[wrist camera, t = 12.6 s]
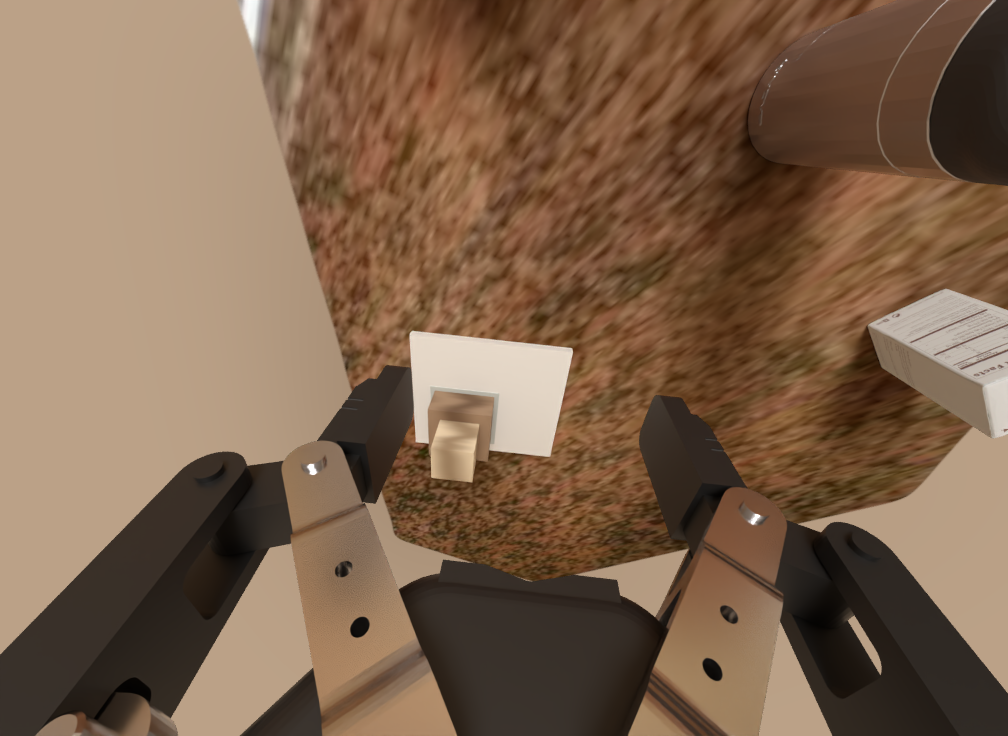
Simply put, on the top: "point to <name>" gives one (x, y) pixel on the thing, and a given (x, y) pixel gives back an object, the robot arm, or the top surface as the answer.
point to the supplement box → (951, 355)
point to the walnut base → (462, 416)
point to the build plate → (494, 385)
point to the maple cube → (454, 451)
